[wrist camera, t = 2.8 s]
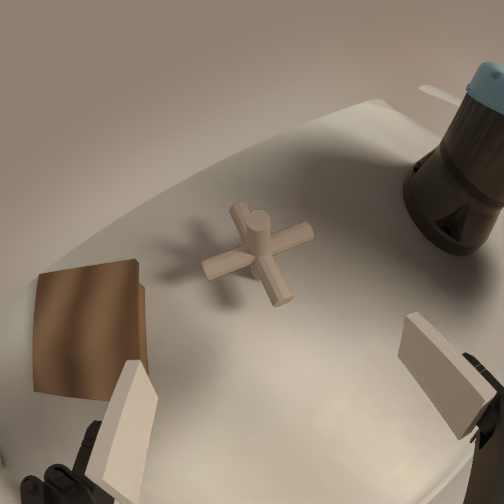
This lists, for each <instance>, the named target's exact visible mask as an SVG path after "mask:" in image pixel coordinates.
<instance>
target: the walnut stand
mask: <svg viewBox="0 0 504 504" xmlns="http://www.w3.org/2000/svg"><path fill="white" fill-rule="evenodd" d="M126 360H141V362H142V364H143V367H144V369H145V371H146V373H147V375H148V377H149V372H148V360H147V346H146V326H145V287H143V286H142V285H141V284H140V283H139V263H138V262H137V260H136V259H131V260H125V261H118V262H112V263H105V264H99V265H93V266H86V267H80V268H74V269H67V270H61V271H55V272H49V273H43V274H39V277H38V284H37V292H36V301H35V312H34V328H33V380H34V391H35V392H41V393H46V394H52V395H59V396H66V397H73V398H81V399H91V400H102V401H110V400H111V397H112V395H113V392H114V390H115V387H116V385H117V382H118V380H119V377H120V375H121V372H122V370H123V368H124V365H125V363H126Z"/></svg>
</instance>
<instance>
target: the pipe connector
mask: <svg viewBox="0 0 504 504" xmlns="http://www.w3.org/2000/svg"><path fill="white" fill-rule="evenodd" d="M229 212H230V214H231V216H232V218H233V220H234V223H235V225H236V227H237V229H238V231H239V233H240V236H241V238H242V240H243V242H244V245H241V246H239V247H236V248H234V249H231V250H228V251H226V252H223V253H221V254H218V255H216V256H213V257H210V258H208V259H205V260H203V261H201V263H202V266H203V269H204V271H205V274H206V276H207V278H208V281H210V280H213V279H215V278H218V277H220V276H223V275H225V274H228V273H230V272H233V271H235V270H238V269H240V268H243V267H245V266H248V265H250V271H251V276H252V277H253V278H254V279H255V280H258V281H262V283H263V285H264V287H265V290H266V292H267V294H268V296H269V298H270V300H271V303H272V305H273V306H274V307H278V306H281V305H283V304H285V303H287V302H289V301H290V300H292V299H293V298H294V297H293V295H292V293H291V291H290V289H289V287H288V285H287V283H286V281H285V279H284V277H283V275H282V273H281V271H280V269H279V267H278V265H277V263H276V261H275V259H274V257H273V255H276V254H278V253H281V252H283V251H286V250H288V249H290V248H293V247H295V246H298V245H300V244H303V243H305V242H308V241H310V240H313V239H314V233H313V229H312V227H311V225H310V224H309V223H308V222H307V221H304V222H301V223H299V224H296V225H294V226H291V227H288V228H286V229H283V230H280V231H278V232H275V233H273V234H270V232H271V217H270V215H269V214H268V213H267V212H266V211H263V210H253V211H251V212H250V210H249V208H248V206H247V204H246V202H237V203H235V204H233V205H232V206H231V207H230V210H229Z"/></svg>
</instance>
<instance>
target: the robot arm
mask: <svg viewBox="0 0 504 504" xmlns="http://www.w3.org/2000/svg"><path fill="white" fill-rule="evenodd" d="M466 91H467V93H466V95H465V97H464V99H463V101H462V103H461V105H460V107H459V109H458V111H457V113H456V115H455V117H454V119H453V121H452V122H451V124H450V126H449V128H448V130H447V132H446V133H445V136H444V137H443V139H442V141H441V143H440V144H439V145H438V146H437V147H436V148H435V149H433V150H432V151H431V152H429V153H428V154H427V155H425V156H424V157H423V158H421V159H420V160H419V161H418V162H416V163H415V164H414V165H413V167H412V168H411V170H410V171H409V173H408V175H407V177H406V179H405V181H404V187H403V192H404V199H405V202H406V205H407V208H408V210H409V213H410V215H411V216H412V218H413V220H414V222H415V223H416V224H417V226H418V227H419V229H420V230H421V231H422V232H423V233H424V234H425V235H426V236H427V237H428V238H429V239H430V240H431V241H432V242H433V243H434V244H436V245H437V246H438V247H440V248H441V249H443V250H445V251H447V252H450V253H452V254H456V255H468V254H471V253H473V252H474V251H476V250H477V249H478V248H479V247H480V246H481V245H483V244H484V243H485V241H486V240H487V238H488V236H489V235H490V233H491V231H492V229H493V226H494V224H495V222H496V220H497V218H498V216H499V213H500V211H501V209H502V208H503V207H504V66H502V65H500V64H497V63H494V62H485V63H482V64H481V65H480V66H479V67H478V69H477V71H476V73H475V75H474V77H473V79H472V81H471V83H470V84H468V85H467V88H466ZM398 357H399V359H400V360H401V361H402V362H403V364H404V365H405V366H406V368H407V369H408V370H409V372H410V373H411V374H412V376H413V377H414V378H415V380H416V381H417V382H418V384H419V385H420V386H421V388H422V389H423V390H424V392H425V393H426V395H427V396H428V397H429V399H430V400H431V401H432V403H433V404H434V406H435V407H436V408H437V410H438V411H439V413H440V414H441V415H442V417H443V418H444V420H445V421H446V423H447V424H448V425H449V427H450V428H451V430H452V431H453V433H454V434H455V436H456V437H457V439H458V440H460V439H462V438H464V437H465V436H467V435H468V434H470V433H471V432H472V430H473V429H474V427H475V426H476V425H477V426H478V428H479V429H478V430H477V432H476V433H475V434H474V436H473V437H472V438H471V441H470V443H472V442H473V441H474V439H475V438H476V441H475V450H474V457H473V464H472V468H471V474H470V478H469V483H468V487H467V491H466V495H465V499H464V502H463V504H504V387H503V386H502V385H501V384H500V383H499V382H498V381H497V380H496V379H495V378H494V377H493V375H492V374H491V373H490V372H489V371H488V370H486V368H485V367H484V366H483V365H481V363H480V362H479V361H478V360H477V359H476V358H475V357H473V356H472V355H470V354H468V353H466V352H465V353H463V354H461V353H460V352H459V351H458V350H457V349H456V348H455V347H454V346H453V345H452V344H451V343H450V342H449V341H447V340H446V339H445V338H444V337H443V336H442V335H441V334H440V333H439V332H438V331H437V330H436V329H435V328H434V327H433V326H432V325H431V324H430V323H429V322H428V321H427V320H425V319H424V318H423V317H422V316H421V315H420V314H419V313H418V312H415V313H412V314H408V315H406V316H405V322H404V328H403V333H402V338H401V343H400V348H399V352H398ZM157 402H158V396H157V394H156V392H155V390H154V388H153V386H152V384H151V382H150V380H149V377H148V375H147V373H146V371H145V369H144V367H143V364H142V362H141V360H126V363H125V365H124V368H123V370H122V372H121V375H120V377H119V380H118V382H117V385H116V387H115V390H114V392H113V395H112V397H111V400H110V402H109V405H108V408H107V410H106V413H105V416H104V418H103V421H97V420H94V421H93V422H92V424H91V425H90V426H89V427H88V428H87V431H86V433H85V436H84V439H83V441H82V444H81V447H80V449H79V452H78V455H77V458H76V461H75V463H74V466H73V469H72V471H71V470H70V469H68V468H67V467H66V466H64V465H62V464H54V465H52V466H50V467H48V469H47V470H46V471H45V474H44V482H43V481H41V480H40V479H39V478H37V477H36V476H32V475H30V476H27V477H25V478H24V479H23V480H22V482H21V487H20V490H21V503H22V504H114V499H116V500H117V501H119V502H120V503H121V504H138V503H139V497H140V490H141V484H142V478H143V472H144V467H145V461H146V456H147V450H148V445H149V440H150V435H151V430H152V425H153V421H154V416H155V411H156V407H157Z"/></svg>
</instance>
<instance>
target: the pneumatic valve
mask: <svg viewBox="0 0 504 504" xmlns="http://www.w3.org/2000/svg"><path fill="white" fill-rule="evenodd" d="M4 467H5V466H4V464H3V463H2V458H1V456H0V468H4Z"/></svg>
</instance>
